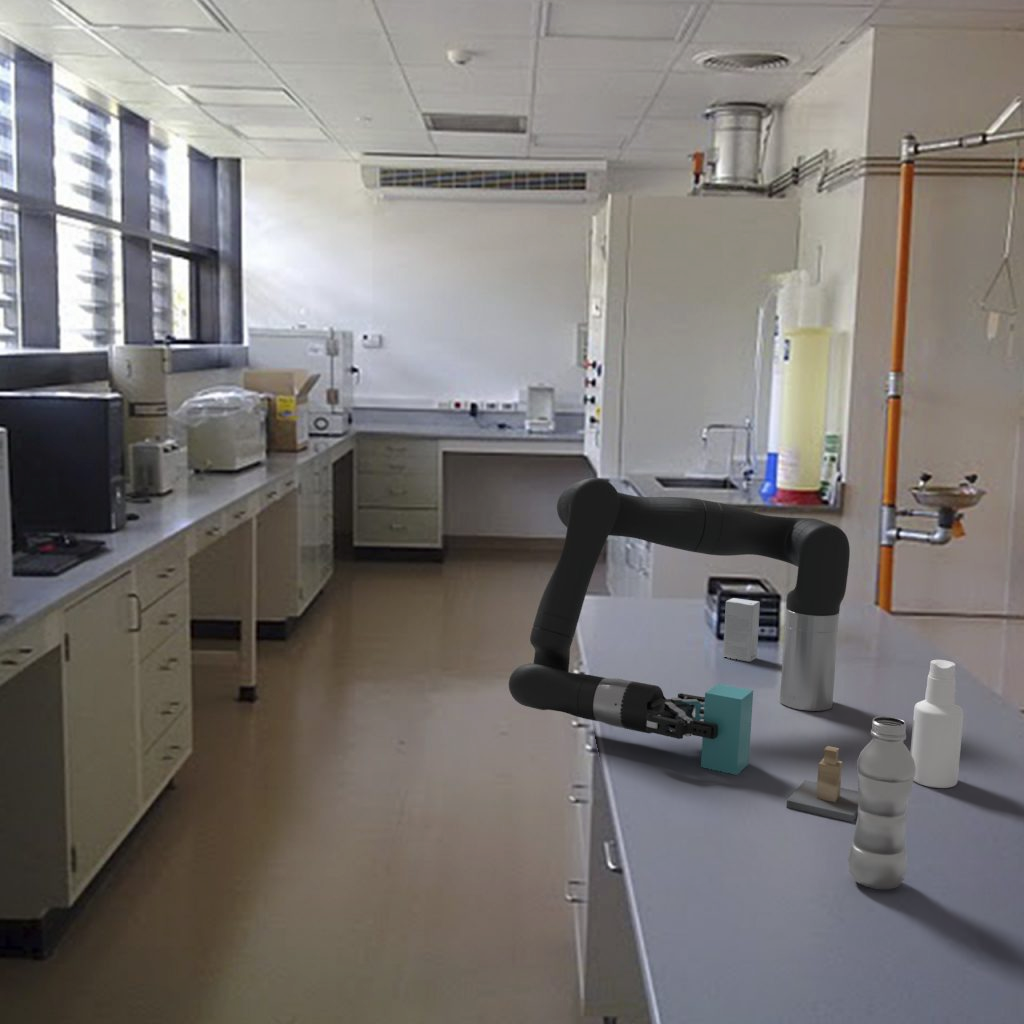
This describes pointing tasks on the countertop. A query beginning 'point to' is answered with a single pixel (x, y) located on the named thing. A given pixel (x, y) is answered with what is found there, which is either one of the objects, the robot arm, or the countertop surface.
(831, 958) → the countertop surface
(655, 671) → the countertop surface
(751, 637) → the skincare box
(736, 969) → the countertop surface
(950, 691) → the spray bottle
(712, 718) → the teal pillar
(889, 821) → the plastic bottle
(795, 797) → the post
